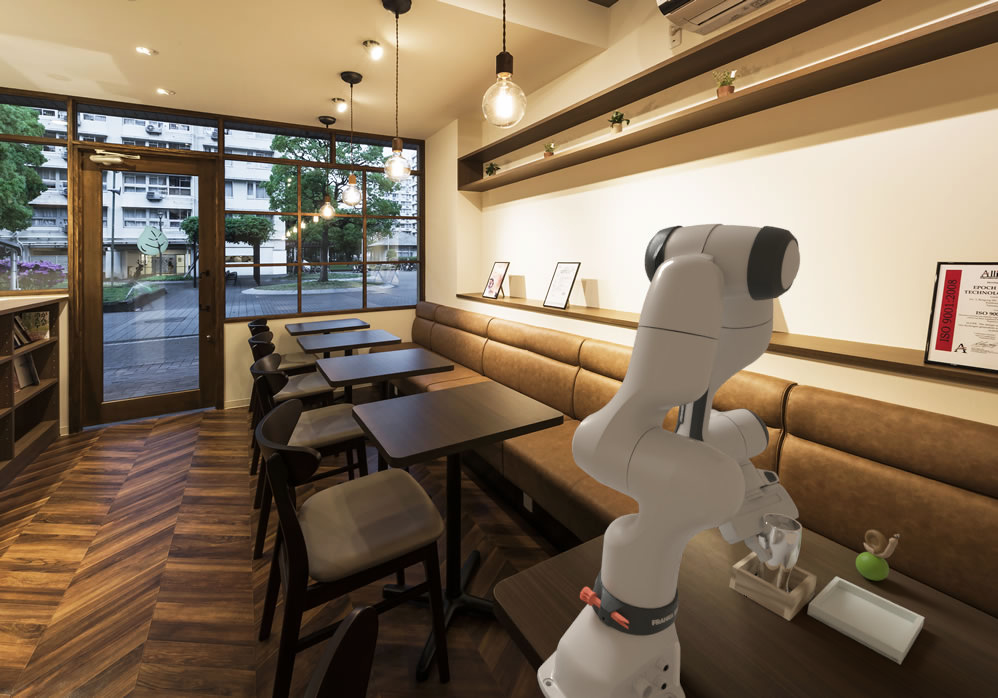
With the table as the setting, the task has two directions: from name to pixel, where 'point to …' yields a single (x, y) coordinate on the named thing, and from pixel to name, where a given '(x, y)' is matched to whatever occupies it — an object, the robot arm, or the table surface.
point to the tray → (867, 618)
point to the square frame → (773, 587)
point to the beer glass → (779, 549)
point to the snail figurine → (875, 555)
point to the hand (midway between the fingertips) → (780, 554)
